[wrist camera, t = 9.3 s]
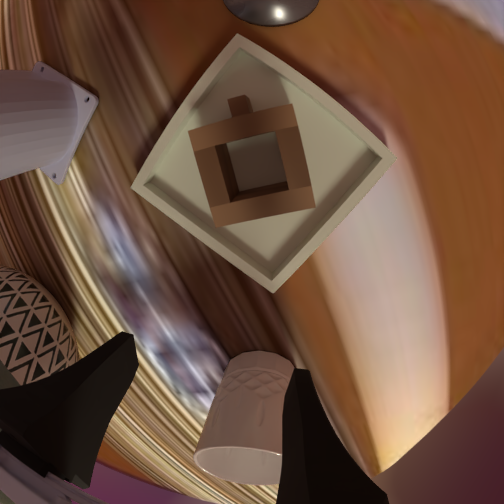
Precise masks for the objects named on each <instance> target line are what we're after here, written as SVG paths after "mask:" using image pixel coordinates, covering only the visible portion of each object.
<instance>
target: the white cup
mask: <svg viewBox="0 0 504 504" xmlns="http://www.w3.org/2000/svg"><path fill="white" fill-rule="evenodd" d="M294 368H295V367H294V366H293V365H292V363H291V362H290V361H289V360H287V359H285V358H284V357H282V356H280V355H278V354H276V353H271V352H265V351H252V352H244V353H241V354H240V355H238V356H236V357H234V358H233V359H231V360H230V362H229V363H228V365H227V367H226V369H225V371H224V375H223V378H222V381H221V383H220V385H219V386H218V389H217V391H216V395H215V397H214V399H213V402H212V404H211V407H210V410H209V413H208V416H207V419H206V422H205V425H204V427H203V430H202V433H201V436H200V439H199V442H198V444H197V447H196V450H195V453H194V456H193V459H194V462H195V463H196V465H197V466H198V467H199V468H201V469H202V470H203V471H205V472H207V473H209V474H211V475H213V476H215V477H218V478H220V479H223V480H227V481H230V482H235V483H240V484H248V485H274V484H279V482H280V475H281V467H282V413H283V404H284V396H285V393H286V390H287V388H288V385H289V382H290V379H291V376H292V373H293V370H294Z"/></svg>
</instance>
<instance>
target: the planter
mask: <svg viewBox="0 0 504 504" xmlns="http://www.w3.org/2000/svg"><path fill="white" fill-rule="evenodd" d="M79 360H80V356H79V351H78V346H77V342H76V338H75V335H74V332H73V329H72V327H71V324H70V322H69V320H68V318H67V316H66V314H65V313H64V311H63V309H62V308H61V306H60V305H59V303H58V302H57V300H56V299H55V298H54V297H53V296H52V294H51V293H50V292H49V291H48V290H47V289H46V288H45V287H44V286H43V285H41V284H40V283H39V282H38V281H36V280H35V279H33V278H32V277H30V276H29V275H27V274H25V273H23V272H21V271H19V270H17V269H14V268H11V267H8V266H4V265H0V389H5V388H11V387H16V386H21V385H25V384H28V383H31V382H35V381H37V380H40V379H43V378H45V377H48V376H50V375H53V374H55V373H57V372H59V371H61V370H63V369H65V368H67V367H69V366H71V365H72V364H74V363H76V362H77V361H79ZM1 430H2V429H1V428H0V432H1ZM0 503H1V504H15V503H14V502H13V501H12V500H11V499H10V498H9V497H8V496H6V495H5V494H4V493H3V492H2V491H1V490H0Z"/></svg>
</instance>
